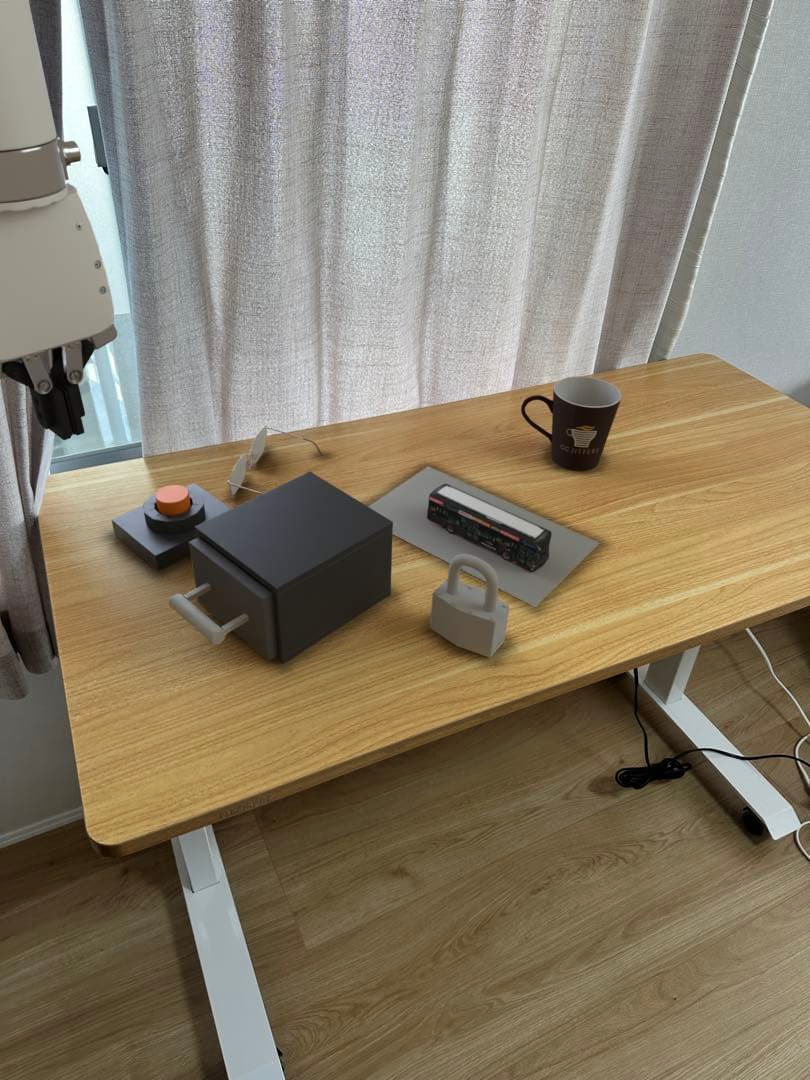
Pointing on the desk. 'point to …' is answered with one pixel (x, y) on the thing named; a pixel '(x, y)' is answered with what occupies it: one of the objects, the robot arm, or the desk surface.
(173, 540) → the control block
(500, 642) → the padlock
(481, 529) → the grey desk mat
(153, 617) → the desk surface
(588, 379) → the coffee mug
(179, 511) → the button
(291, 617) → the dark grey cabinet
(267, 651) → the drawer
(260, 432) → the eyeglasses
